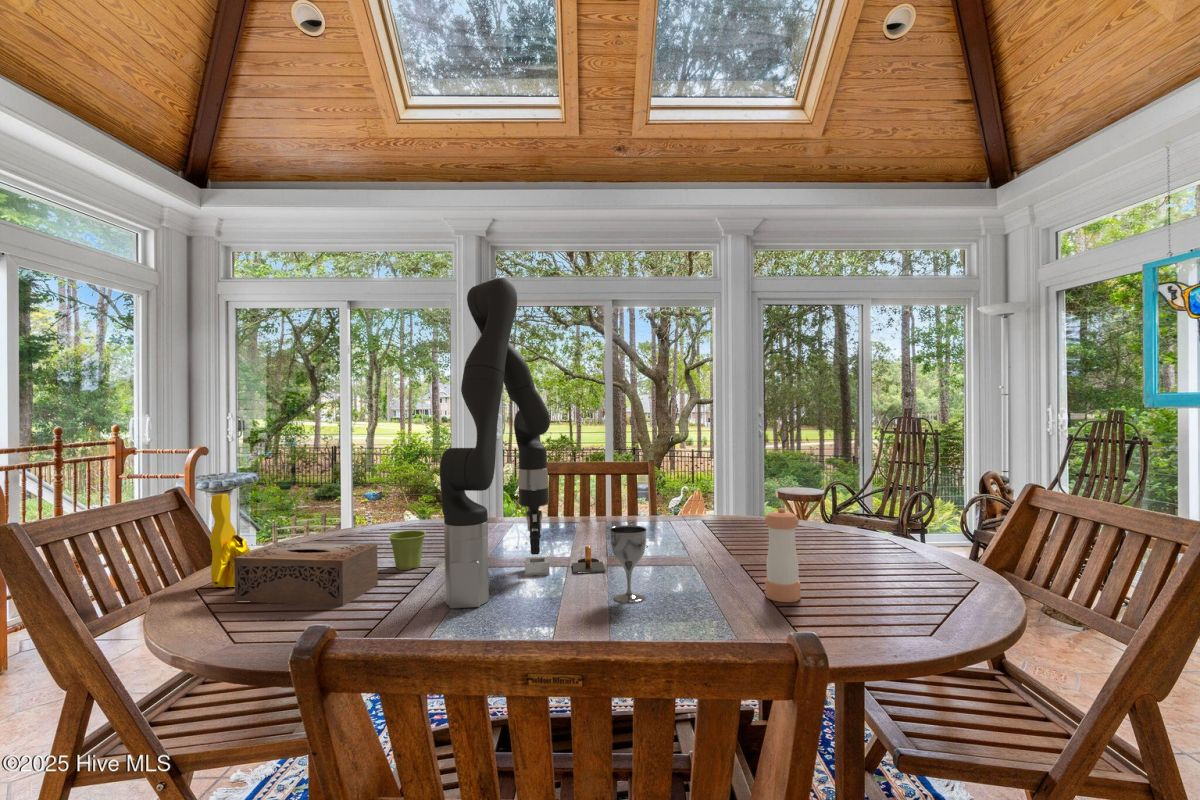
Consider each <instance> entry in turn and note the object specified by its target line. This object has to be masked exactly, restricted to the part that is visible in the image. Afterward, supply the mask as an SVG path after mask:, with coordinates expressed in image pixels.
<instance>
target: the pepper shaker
mask: <svg viewBox="0 0 1200 800" xmlns="http://www.w3.org/2000/svg"><path fill="white" fill-rule="evenodd" d="M799 522H800V521H799V518H798V516H797V515H796V514H794V513H793V512H790V511H789V510H788V511H787V510H786V509H785V508H783V507H779V508H777V510H774V511H771V512H769V513H766V516H765V517H764V523H765V525H766V526H767V527H768V548H767V549H768V550H767V558H766V563H765V564H766V565H765V566H766V578H765V580H764V582H765V583H764V587H765V589H764V591H765V592H764V593H765V597H766V598H767V599H769V600H772V601H775V602H781V603H793V602H797V601H799V600H800V601H801V598H802V597H801V580H800V579H799V559H798V555H797V550H796V549H797V548H796V528H797V527H798V526H799V524H800V523H799Z"/></svg>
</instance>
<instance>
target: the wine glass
mask: <svg viewBox="0 0 1200 800" xmlns="http://www.w3.org/2000/svg"><path fill="white" fill-rule="evenodd" d="M609 540H610V547H611V551H612V555H613V557H614V558H615V559H616V561H617V562H618V563H619V564H620V565H621V566H622V567H623V569H624V572H625V575H626V576H625V577H626V586H627V587H626V588H627V589H626V592H621V593H617V594H615V595H613V597H612V599H613V601H614V602H616V603H621V604H626V605H627V604H628V605H630V604H632V605H633V604H638V603H641V602H644V601H645V600H646V596H645V595H644V594H641V593H637V592H632V588H631V587H632V584H631V583H632V573H633V570H634V568H635V567H636V565H638V563H639V562H640V561H641V559H642V558H643V556H644V554H645V551H646V546H647V528H646V527H644V526H639V525H626V524H624V525H619V526H618V525H617V526H613V527H611V528H610V529H609Z"/></svg>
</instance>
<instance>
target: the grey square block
mask: <svg viewBox="0 0 1200 800" xmlns="http://www.w3.org/2000/svg"><path fill="white" fill-rule="evenodd" d="M524 561H525V562H524V576H525V577H534V576H533V575H540V576H550V572H551V571H550V557H549V556H537V557H536V556H535V557H525V560H524Z"/></svg>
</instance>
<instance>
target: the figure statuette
mask: <svg viewBox="0 0 1200 800" xmlns="http://www.w3.org/2000/svg"><path fill="white" fill-rule="evenodd" d="M210 511H211V515H212V517H213V520H214V521H213V522H214V523H213V526H212V529H211V533H210V537H209V542H210V543H209V544H210V549H211V551H212V552H211V553H212V559H211V560H212V561H211V566H210V575H211V584H212V586H213V588H214V587H221V588H226V587H225V586H227V587H234V586H235V570H234V558H236V557H238V556H241V555H244V554H247V553H250V552H252V550H251V549H250V547H249V546H248V544H247V540H246V538H243V537H242V536H241V535H240V534H237V532H236V529H235V527H234V526H233V524H232V522H231V520H230V513H231V501H230V497H229V495H228V493H218V494H215V495H212V496H211V502H210Z"/></svg>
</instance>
